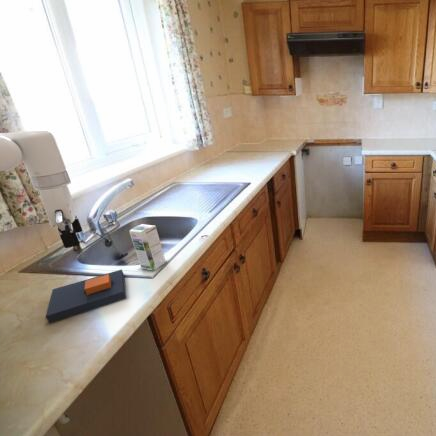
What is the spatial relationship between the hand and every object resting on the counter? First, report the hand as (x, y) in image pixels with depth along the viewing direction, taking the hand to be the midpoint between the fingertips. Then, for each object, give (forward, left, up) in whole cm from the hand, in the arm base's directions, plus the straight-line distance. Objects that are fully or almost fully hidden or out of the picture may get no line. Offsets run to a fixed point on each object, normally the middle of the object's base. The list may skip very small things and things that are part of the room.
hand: (74, 239), depth 89 cm
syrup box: (+16, +7, -19) cm, 26 cm away
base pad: (-2, -1, -19) cm, 19 cm away
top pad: (+1, -1, -19) cm, 19 cm away
